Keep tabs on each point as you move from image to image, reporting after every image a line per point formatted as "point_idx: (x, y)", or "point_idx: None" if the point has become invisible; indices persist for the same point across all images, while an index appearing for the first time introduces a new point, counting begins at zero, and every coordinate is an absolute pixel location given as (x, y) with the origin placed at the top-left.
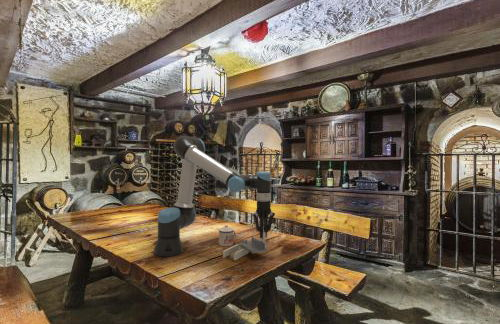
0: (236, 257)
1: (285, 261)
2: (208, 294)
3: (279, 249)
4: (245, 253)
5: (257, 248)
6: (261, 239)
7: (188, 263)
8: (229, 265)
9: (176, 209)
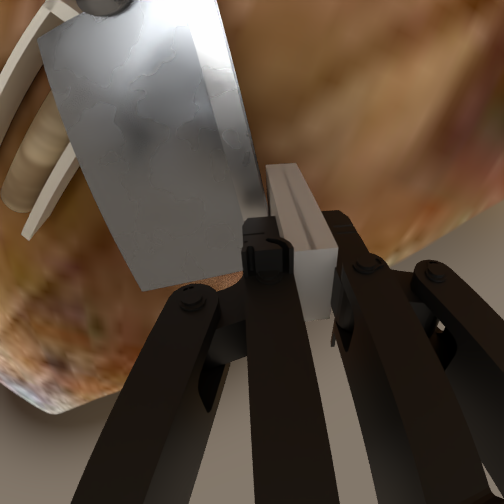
0: (48, 213)
1: None
2: (40, 400)
3: (449, 66)
4: None
5: (195, 231)
6: (271, 192)
7: None
8: (33, 272)
9: None
